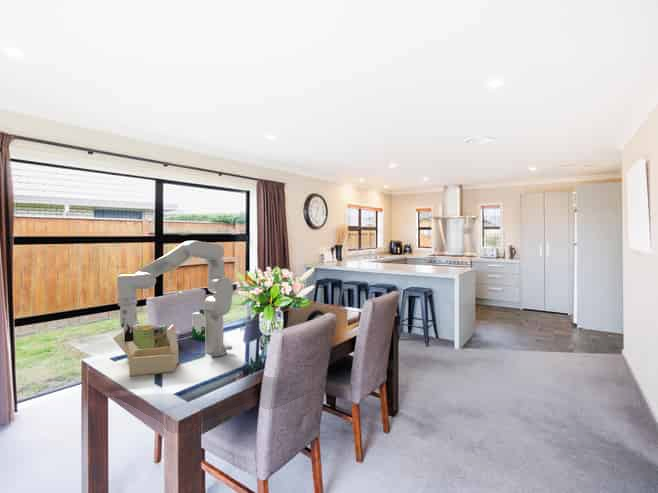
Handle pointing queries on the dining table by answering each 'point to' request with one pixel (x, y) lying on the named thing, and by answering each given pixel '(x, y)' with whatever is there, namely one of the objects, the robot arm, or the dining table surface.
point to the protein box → (150, 336)
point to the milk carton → (198, 324)
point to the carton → (153, 361)
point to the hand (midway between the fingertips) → (129, 341)
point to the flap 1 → (125, 344)
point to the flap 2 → (172, 338)
